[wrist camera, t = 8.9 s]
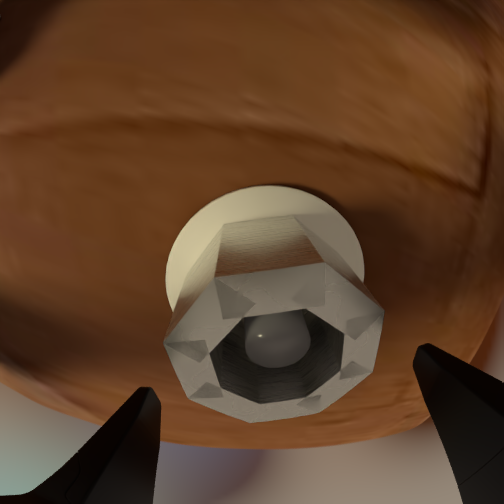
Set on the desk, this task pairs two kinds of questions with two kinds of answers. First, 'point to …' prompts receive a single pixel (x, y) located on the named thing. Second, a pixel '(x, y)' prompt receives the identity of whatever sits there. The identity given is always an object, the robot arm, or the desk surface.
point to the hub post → (257, 207)
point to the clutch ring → (267, 302)
